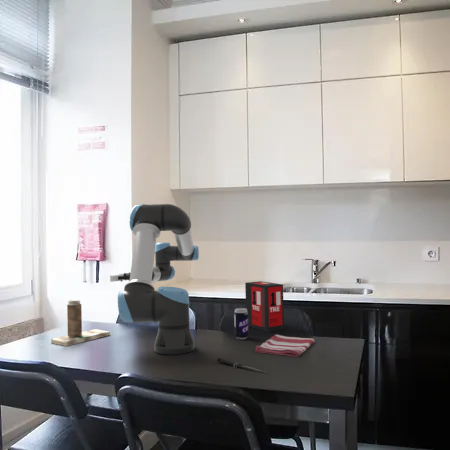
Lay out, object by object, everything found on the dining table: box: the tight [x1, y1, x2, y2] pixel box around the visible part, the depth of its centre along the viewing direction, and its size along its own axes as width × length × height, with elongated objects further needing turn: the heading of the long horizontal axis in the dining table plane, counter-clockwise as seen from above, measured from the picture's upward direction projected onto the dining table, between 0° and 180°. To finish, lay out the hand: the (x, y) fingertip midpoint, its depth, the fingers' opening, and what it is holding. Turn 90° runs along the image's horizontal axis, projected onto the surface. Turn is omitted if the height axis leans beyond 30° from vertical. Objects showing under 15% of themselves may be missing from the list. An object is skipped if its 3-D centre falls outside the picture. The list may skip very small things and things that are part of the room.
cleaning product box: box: [244, 280, 285, 333], centre depth 209 cm, size 16×9×20 cm, turn 33°
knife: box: [216, 357, 270, 375], centre depth 148 cm, size 25×2×5 cm
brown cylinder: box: [66, 299, 83, 338], centre depth 190 cm, size 5×7×15 cm, turn 53°
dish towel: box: [254, 334, 316, 358], centre depth 174 cm, size 17×23×3 cm
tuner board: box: [50, 328, 111, 347], centre depth 193 cm, size 22×10×2 cm, turn 143°
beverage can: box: [233, 307, 249, 340], centre depth 189 cm, size 6×6×12 cm
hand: (111, 278), depth 207 cm, fingers closed
